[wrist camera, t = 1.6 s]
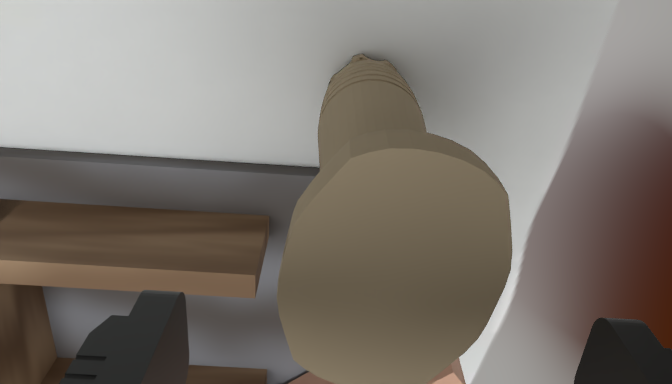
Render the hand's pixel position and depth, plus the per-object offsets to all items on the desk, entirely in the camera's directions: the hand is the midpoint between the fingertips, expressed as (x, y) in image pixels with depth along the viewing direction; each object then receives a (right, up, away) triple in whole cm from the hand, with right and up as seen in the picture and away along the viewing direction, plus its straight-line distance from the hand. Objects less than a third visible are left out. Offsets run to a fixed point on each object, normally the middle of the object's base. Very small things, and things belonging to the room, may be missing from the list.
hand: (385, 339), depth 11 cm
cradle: (-9, -3, +20) cm, 22 cm away
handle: (0, +8, +15) cm, 17 cm away
